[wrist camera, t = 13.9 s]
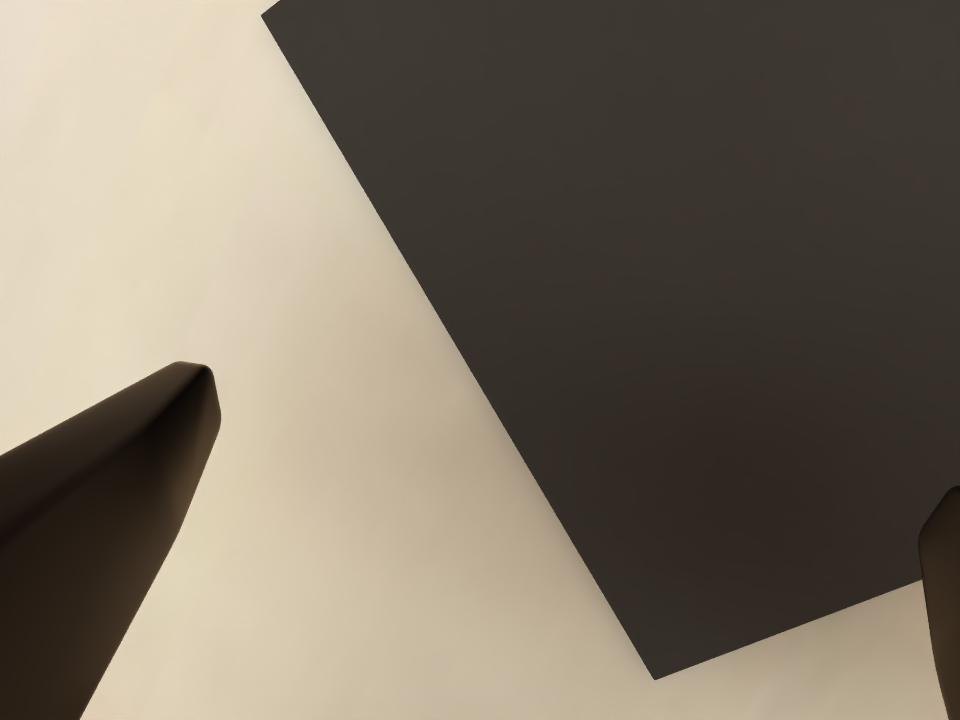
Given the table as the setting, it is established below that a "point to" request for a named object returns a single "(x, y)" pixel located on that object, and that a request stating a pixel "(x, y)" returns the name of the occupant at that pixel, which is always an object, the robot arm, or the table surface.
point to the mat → (682, 274)
